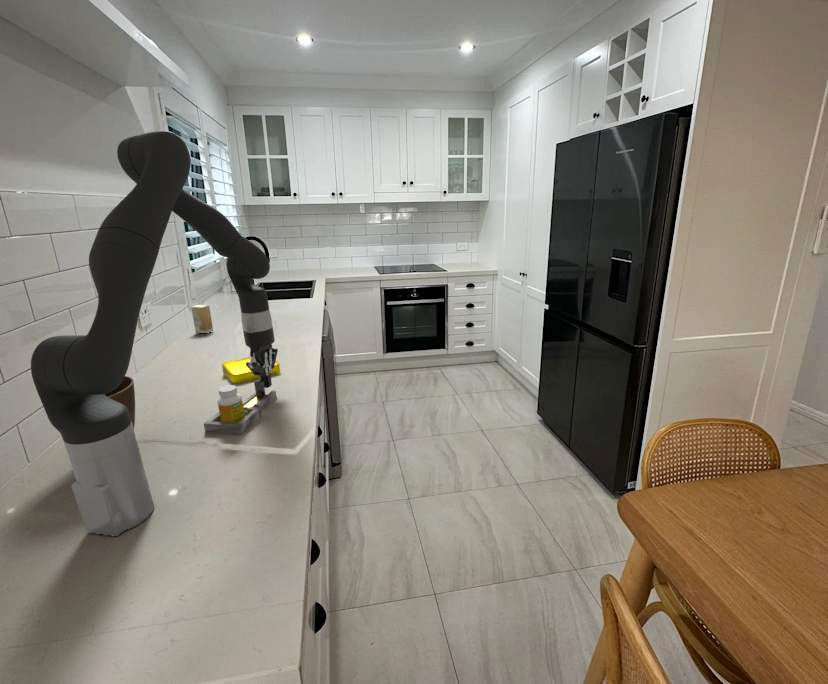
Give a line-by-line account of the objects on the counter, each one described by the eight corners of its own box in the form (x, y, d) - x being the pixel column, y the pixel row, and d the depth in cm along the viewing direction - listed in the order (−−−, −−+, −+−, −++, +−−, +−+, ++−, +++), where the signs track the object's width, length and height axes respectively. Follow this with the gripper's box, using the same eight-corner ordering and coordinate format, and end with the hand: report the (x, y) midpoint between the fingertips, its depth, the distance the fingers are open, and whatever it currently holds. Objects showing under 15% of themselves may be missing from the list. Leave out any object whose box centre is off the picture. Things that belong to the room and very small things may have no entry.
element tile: (267, 364, 149) (265, 351, 147) (282, 376, 137) (280, 362, 136) (222, 374, 140) (219, 361, 139) (234, 388, 129) (231, 374, 127)
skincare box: (195, 333, 188) (189, 306, 184) (202, 330, 192) (197, 304, 188) (207, 334, 186) (202, 307, 183) (214, 331, 190) (209, 304, 186)
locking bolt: (251, 413, 110) (248, 392, 108) (243, 412, 110) (239, 392, 108) (268, 399, 117) (265, 379, 115) (260, 398, 118) (257, 379, 116)
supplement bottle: (237, 430, 101) (230, 393, 98) (217, 429, 103) (210, 392, 100) (250, 420, 106) (244, 384, 103) (231, 418, 108) (224, 383, 105)
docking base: (245, 442, 98) (243, 429, 97) (195, 438, 100) (192, 425, 99) (293, 397, 120) (291, 386, 119) (251, 395, 123) (249, 384, 122)
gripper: (258, 320, 120) (267, 377, 126) (230, 333, 108) (241, 396, 113) (282, 320, 119) (290, 378, 124) (257, 334, 107) (267, 397, 112)
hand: (267, 386), depth 119 cm, fingers closed
